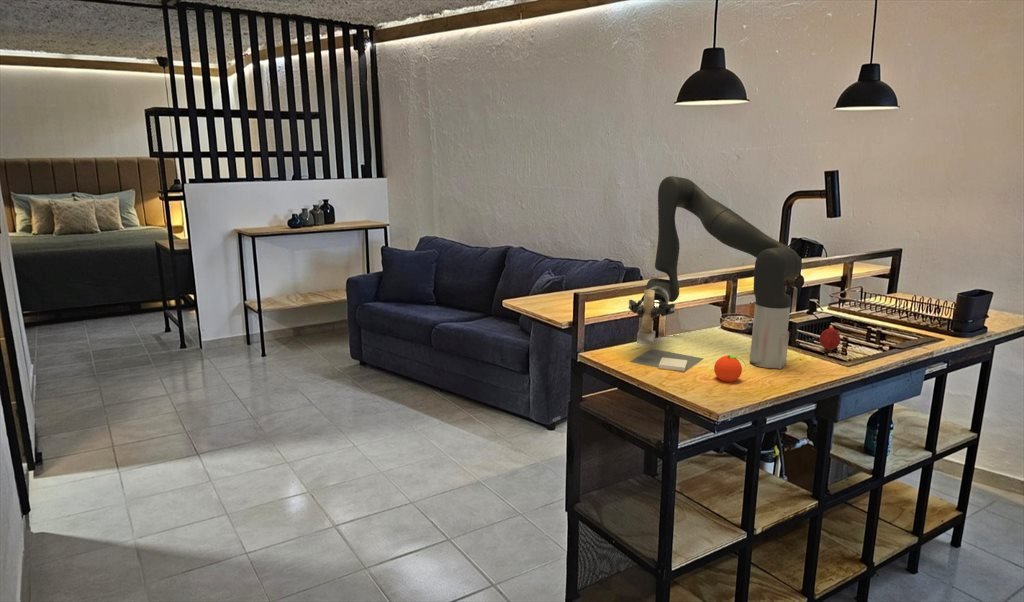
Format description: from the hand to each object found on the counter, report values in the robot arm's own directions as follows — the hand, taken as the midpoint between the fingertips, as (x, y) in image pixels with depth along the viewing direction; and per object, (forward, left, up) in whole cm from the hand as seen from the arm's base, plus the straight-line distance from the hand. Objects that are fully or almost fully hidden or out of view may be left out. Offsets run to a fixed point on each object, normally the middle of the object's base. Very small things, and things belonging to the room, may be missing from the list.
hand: (646, 313), depth 185 cm
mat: (-4, -6, -15) cm, 17 cm away
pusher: (+1, -3, -9) cm, 9 cm away
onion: (-40, -47, -15) cm, 64 cm away
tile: (-7, -5, -13) cm, 16 cm away
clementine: (-24, 0, -15) cm, 28 cm away
